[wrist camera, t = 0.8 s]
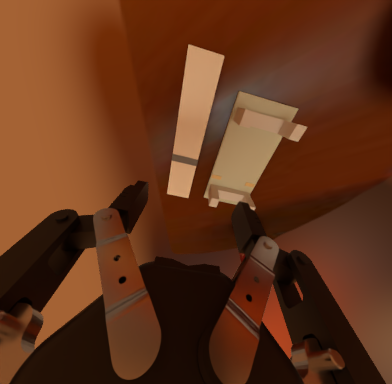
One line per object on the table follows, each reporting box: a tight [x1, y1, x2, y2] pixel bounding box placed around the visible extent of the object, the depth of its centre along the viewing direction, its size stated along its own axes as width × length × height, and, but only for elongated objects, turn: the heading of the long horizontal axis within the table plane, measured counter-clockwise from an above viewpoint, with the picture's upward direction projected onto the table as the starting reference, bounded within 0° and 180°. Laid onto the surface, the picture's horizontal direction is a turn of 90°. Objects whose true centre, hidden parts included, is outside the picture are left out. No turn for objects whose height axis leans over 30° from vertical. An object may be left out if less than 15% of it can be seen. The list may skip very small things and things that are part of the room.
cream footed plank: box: [204, 91, 307, 210], centre depth 26 cm, size 21×10×6 cm, turn 167°
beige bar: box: [167, 45, 224, 198], centre depth 24 cm, size 22×4×4 cm, turn 167°
